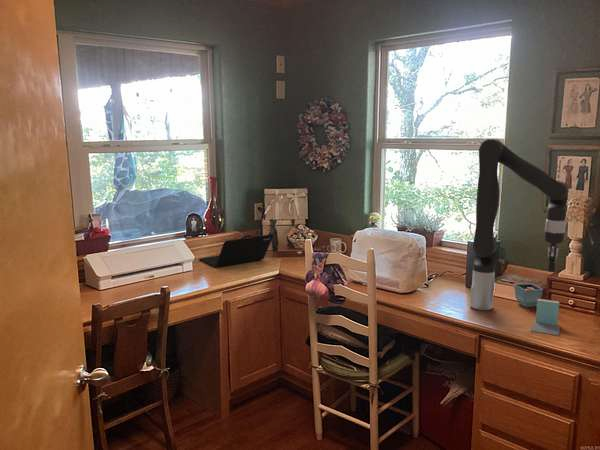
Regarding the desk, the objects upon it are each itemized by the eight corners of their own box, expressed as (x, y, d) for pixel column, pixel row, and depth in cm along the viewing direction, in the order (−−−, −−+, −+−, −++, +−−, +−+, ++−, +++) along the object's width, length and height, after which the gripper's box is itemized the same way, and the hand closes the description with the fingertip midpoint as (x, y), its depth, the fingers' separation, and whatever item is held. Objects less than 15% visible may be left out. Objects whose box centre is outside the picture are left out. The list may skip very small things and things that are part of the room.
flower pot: (541, 308, 228) (543, 289, 226) (523, 309, 226) (525, 290, 225) (530, 301, 236) (531, 283, 235) (512, 303, 235) (514, 284, 233)
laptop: (245, 253, 335) (244, 224, 332) (275, 265, 305) (274, 233, 301) (198, 260, 316) (196, 230, 313) (225, 274, 286) (224, 240, 283)
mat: (530, 331, 201) (530, 330, 201) (532, 323, 210) (532, 322, 210) (558, 335, 197) (559, 334, 196) (559, 327, 205) (559, 326, 205)
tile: (535, 323, 210) (537, 300, 208) (535, 321, 212) (537, 298, 210) (557, 326, 206) (559, 303, 204) (557, 324, 208) (559, 301, 206)
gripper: (545, 227, 216) (542, 266, 219) (543, 232, 205) (540, 273, 208) (565, 228, 212) (561, 268, 216) (564, 234, 201) (560, 276, 204)
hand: (551, 271), depth 212 cm, fingers closed
